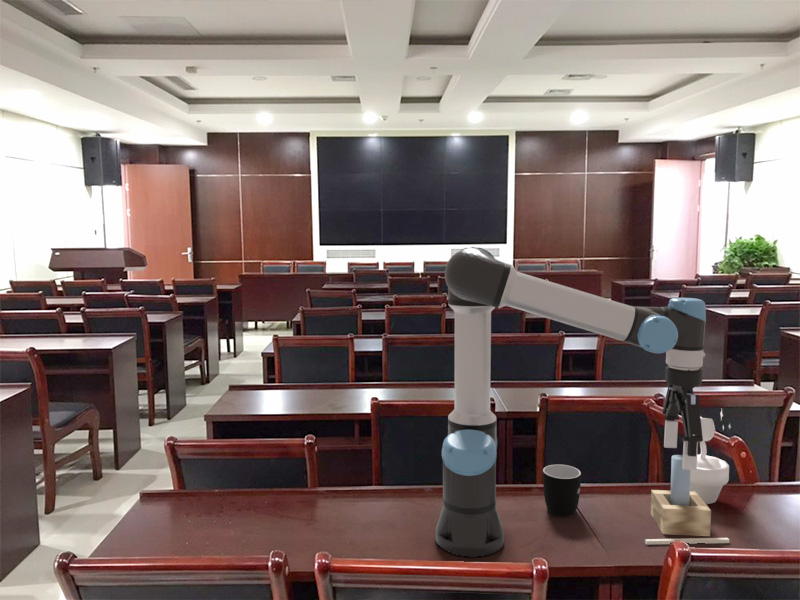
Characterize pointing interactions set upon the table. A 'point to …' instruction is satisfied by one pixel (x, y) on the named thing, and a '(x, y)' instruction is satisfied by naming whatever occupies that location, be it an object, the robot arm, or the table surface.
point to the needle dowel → (679, 482)
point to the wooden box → (680, 515)
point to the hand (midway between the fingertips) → (679, 457)
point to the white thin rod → (687, 540)
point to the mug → (561, 489)
